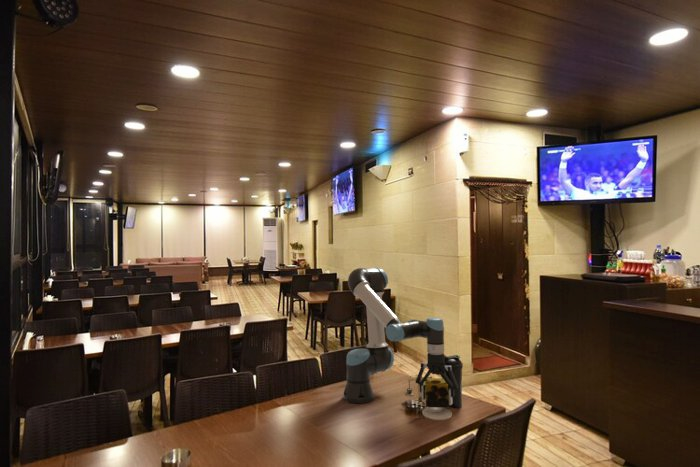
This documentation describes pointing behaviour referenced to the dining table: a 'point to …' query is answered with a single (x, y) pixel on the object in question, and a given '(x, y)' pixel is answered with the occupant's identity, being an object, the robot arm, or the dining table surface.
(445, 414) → the dish
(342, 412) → the dining table surface
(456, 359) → the water bottle
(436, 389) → the candle
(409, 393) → the balance
